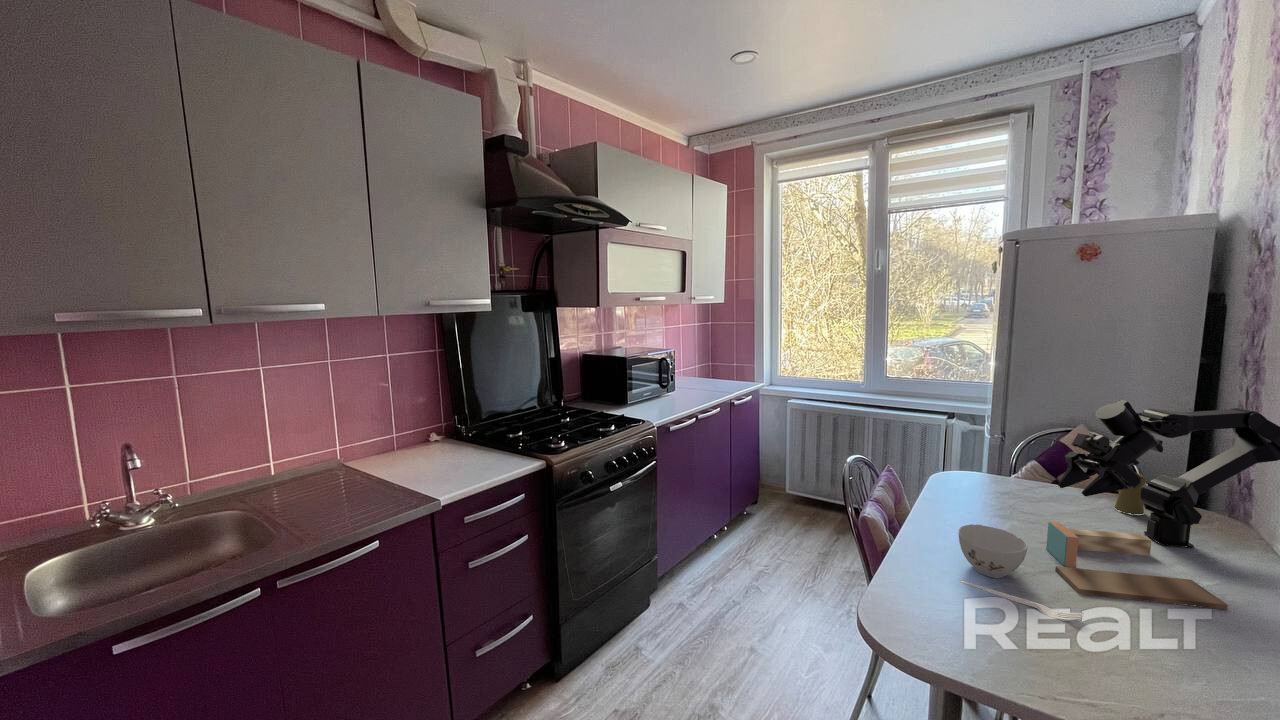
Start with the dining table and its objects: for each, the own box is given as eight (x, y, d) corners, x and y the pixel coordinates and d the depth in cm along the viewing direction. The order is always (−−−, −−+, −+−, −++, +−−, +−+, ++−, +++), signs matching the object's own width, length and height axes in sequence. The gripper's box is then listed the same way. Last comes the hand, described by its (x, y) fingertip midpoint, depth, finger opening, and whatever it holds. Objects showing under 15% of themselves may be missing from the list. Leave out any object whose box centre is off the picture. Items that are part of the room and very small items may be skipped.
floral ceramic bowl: (1007, 593, 104) (1010, 556, 103) (944, 566, 115) (946, 532, 114) (1041, 572, 112) (1044, 537, 111) (979, 548, 123) (981, 516, 122)
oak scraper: (1140, 550, 121) (1142, 534, 121) (1149, 556, 118) (1151, 540, 118) (1061, 543, 125) (1063, 528, 124) (1068, 549, 122) (1070, 533, 122)
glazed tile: (1056, 550, 121) (1059, 522, 121) (1075, 567, 114) (1078, 537, 113) (1045, 549, 122) (1048, 521, 121) (1064, 566, 114) (1066, 536, 114)
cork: (1122, 514, 140) (1126, 475, 138) (1109, 506, 145) (1113, 468, 144) (1149, 517, 138) (1154, 477, 137) (1135, 508, 144) (1139, 470, 142)
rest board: (1190, 584, 107) (1191, 579, 106) (1227, 609, 98) (1227, 604, 98) (1055, 570, 113) (1055, 566, 113) (1078, 593, 104) (1078, 588, 104)
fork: (962, 581, 111) (962, 573, 110) (1083, 621, 96) (1084, 611, 96) (957, 587, 108) (957, 578, 108) (1081, 629, 94) (1081, 619, 93)
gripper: (1074, 420, 133) (1024, 459, 135) (1127, 427, 115) (1069, 471, 117) (1108, 453, 131) (1057, 492, 133) (1167, 465, 113) (1107, 510, 115)
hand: (1071, 490), depth 125 cm, fingers open, 9 cm apart
